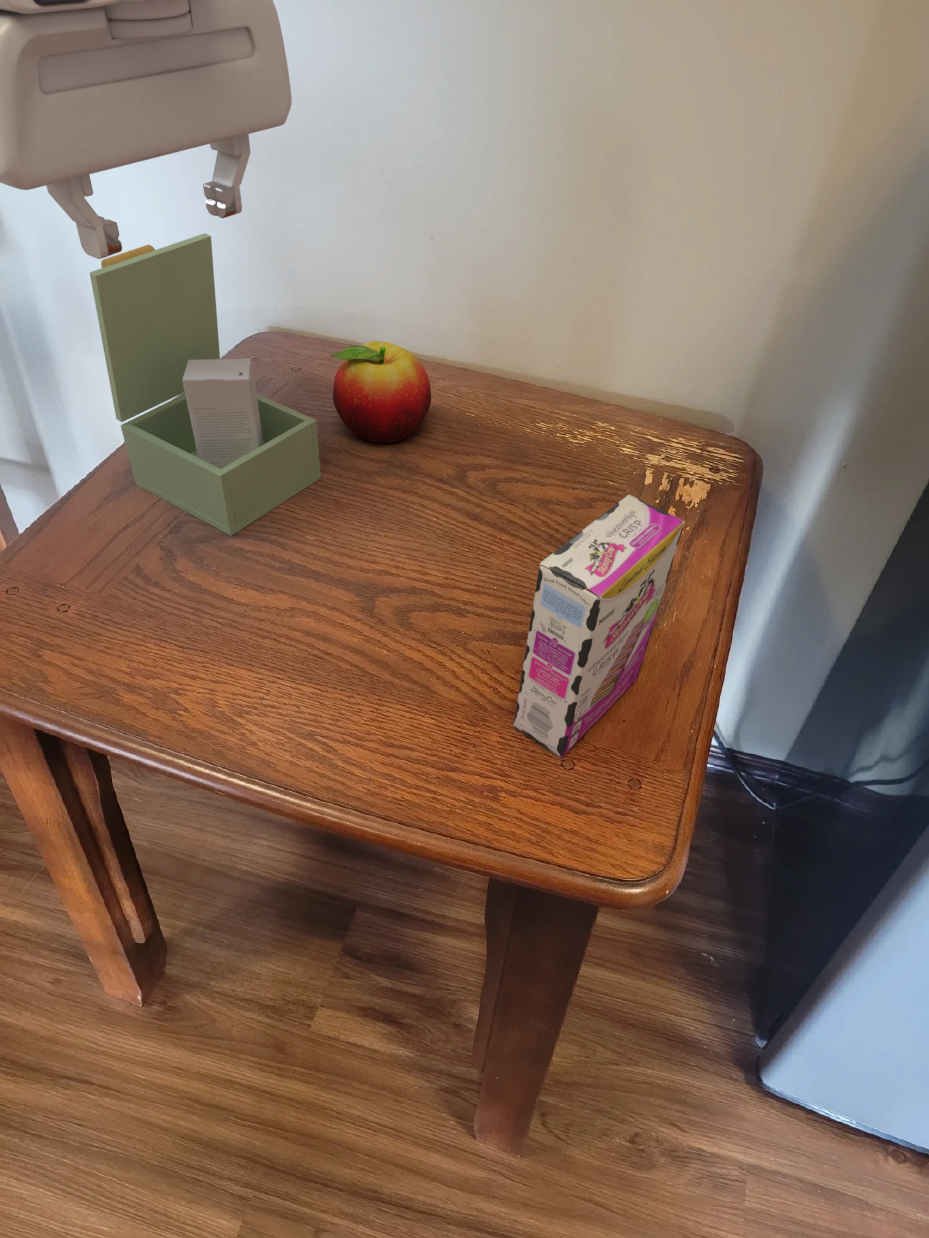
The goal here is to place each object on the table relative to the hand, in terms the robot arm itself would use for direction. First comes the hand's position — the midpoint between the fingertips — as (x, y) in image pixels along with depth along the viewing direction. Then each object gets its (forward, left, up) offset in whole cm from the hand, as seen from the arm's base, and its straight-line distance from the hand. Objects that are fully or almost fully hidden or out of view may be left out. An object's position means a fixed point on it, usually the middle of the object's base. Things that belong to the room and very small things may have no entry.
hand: (167, 233), depth 52 cm
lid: (0, +24, -17) cm, 29 cm away
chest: (+3, +19, -31) cm, 36 cm away
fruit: (+21, +24, -31) cm, 45 cm away
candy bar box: (+23, -20, -31) cm, 44 cm away
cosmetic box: (+4, +18, -30) cm, 36 cm away
